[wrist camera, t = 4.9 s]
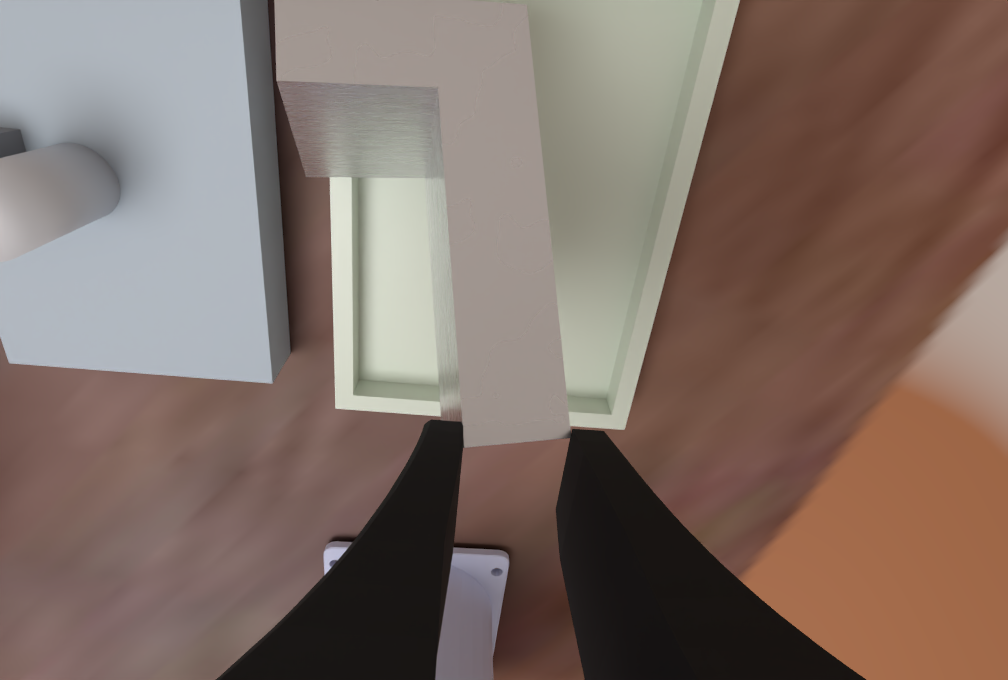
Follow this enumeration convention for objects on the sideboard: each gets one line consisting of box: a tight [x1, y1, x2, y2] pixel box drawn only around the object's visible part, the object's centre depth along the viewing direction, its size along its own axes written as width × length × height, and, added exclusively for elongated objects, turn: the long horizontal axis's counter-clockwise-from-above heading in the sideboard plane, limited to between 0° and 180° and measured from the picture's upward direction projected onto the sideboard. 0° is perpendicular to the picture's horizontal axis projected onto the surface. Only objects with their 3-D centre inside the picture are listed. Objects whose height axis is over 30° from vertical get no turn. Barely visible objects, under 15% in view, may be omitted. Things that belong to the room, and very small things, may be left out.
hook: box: [274, 0, 571, 448], centre depth 13 cm, size 9×5×4 cm
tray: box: [330, 0, 740, 430], centre depth 17 cm, size 14×10×2 cm
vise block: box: [0, 0, 291, 383], centre depth 15 cm, size 12×8×6 cm, turn 173°
